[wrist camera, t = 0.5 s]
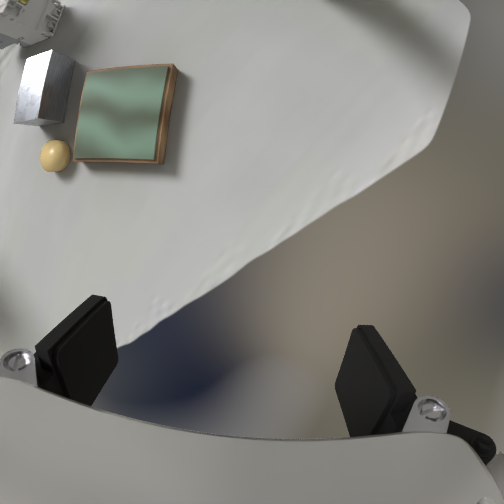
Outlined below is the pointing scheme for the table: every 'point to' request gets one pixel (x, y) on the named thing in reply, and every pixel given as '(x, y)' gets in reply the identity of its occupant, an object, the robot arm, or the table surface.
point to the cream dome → (55, 155)
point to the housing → (44, 89)
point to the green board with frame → (125, 114)
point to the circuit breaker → (28, 21)
